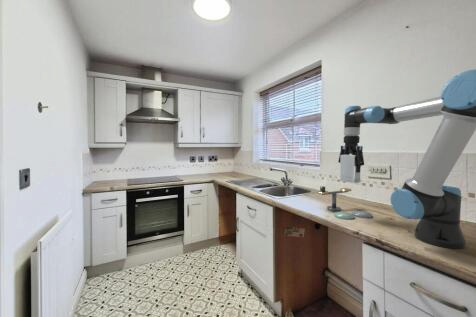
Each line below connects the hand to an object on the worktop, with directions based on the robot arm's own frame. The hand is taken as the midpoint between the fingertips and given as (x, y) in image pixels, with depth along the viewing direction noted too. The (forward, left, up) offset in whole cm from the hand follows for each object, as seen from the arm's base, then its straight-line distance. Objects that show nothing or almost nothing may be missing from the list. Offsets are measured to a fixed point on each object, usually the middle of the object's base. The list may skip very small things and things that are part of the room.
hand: (349, 177), depth 115 cm
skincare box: (0, 0, -3) cm, 3 cm away
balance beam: (+16, -3, -12) cm, 20 cm away
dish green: (+2, +1, -22) cm, 23 cm away
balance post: (+16, -3, -22) cm, 28 cm away
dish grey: (+2, -10, -22) cm, 25 cm away
